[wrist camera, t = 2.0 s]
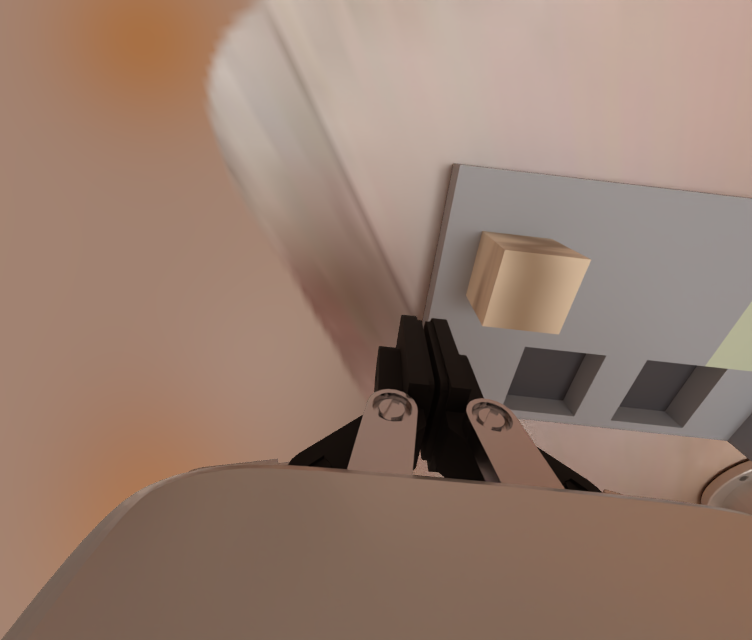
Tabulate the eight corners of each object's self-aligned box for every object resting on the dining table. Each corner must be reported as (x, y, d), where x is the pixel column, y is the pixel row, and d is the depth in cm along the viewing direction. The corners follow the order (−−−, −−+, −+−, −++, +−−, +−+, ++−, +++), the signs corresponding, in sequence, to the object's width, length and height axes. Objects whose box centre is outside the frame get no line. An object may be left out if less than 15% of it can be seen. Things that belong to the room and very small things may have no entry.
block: (552, 238, 23) (591, 259, 18) (528, 302, 25) (558, 334, 21) (482, 230, 23) (504, 249, 18) (465, 295, 25) (482, 326, 20)
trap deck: (885, 214, 23) (1016, 230, 18) (714, 422, 33) (770, 469, 28) (453, 163, 23) (470, 166, 18) (409, 390, 33) (412, 431, 28)
